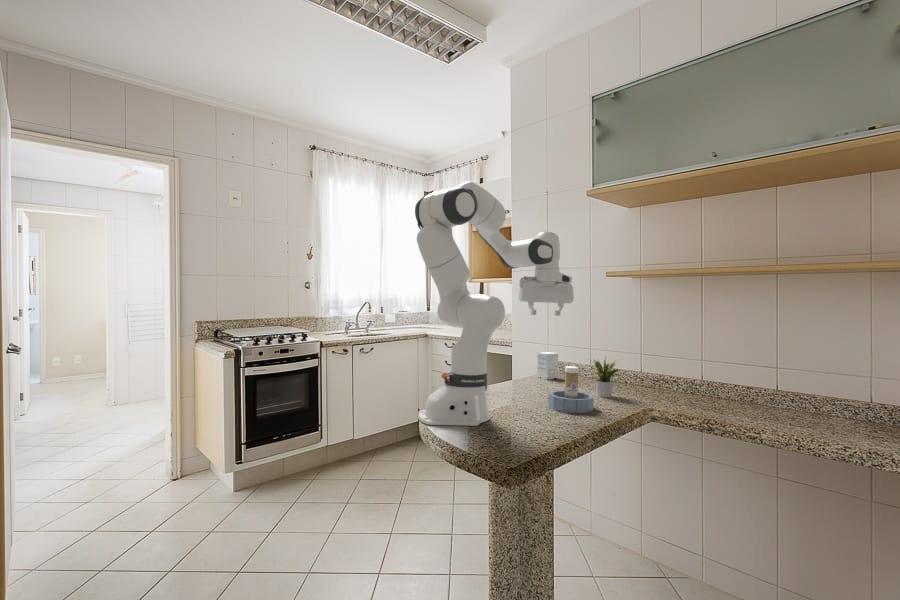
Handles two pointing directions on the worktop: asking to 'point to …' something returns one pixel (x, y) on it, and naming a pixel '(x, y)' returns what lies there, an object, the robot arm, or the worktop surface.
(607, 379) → the house plant
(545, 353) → the white canister
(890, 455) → the worktop surface
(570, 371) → the sprinkles bottle
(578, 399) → the bowl
